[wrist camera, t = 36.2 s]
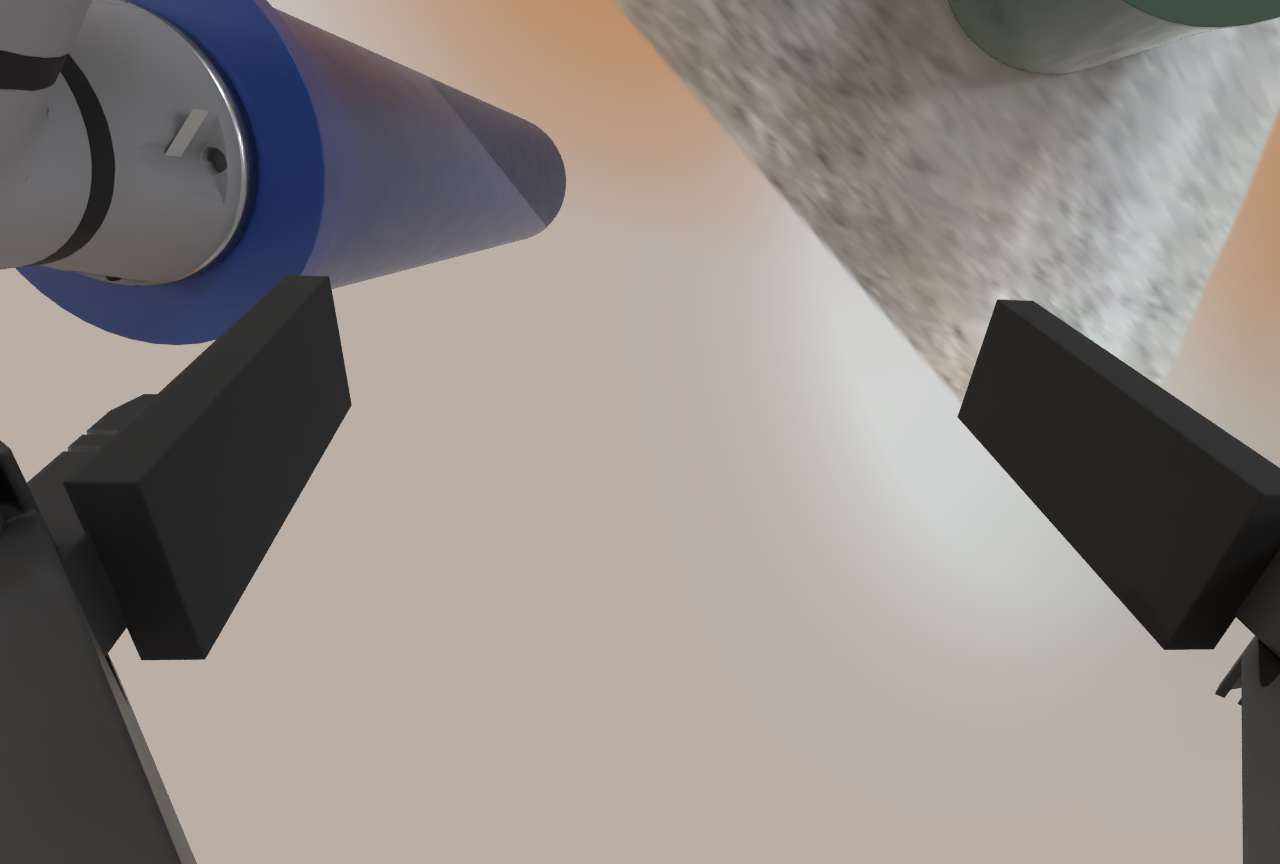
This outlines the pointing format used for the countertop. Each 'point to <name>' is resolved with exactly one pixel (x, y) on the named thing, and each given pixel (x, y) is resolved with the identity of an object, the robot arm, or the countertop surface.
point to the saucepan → (1094, 27)
